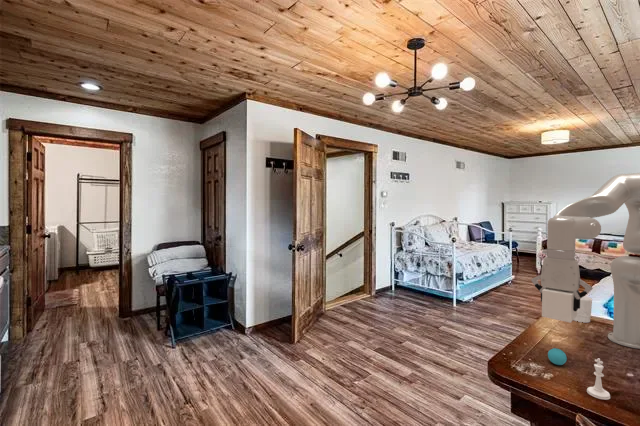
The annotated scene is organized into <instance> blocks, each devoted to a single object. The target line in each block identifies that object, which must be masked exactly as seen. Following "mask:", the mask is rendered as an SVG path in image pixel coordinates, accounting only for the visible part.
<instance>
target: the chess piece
mask: <svg viewBox="0 0 640 426" xmlns="http://www.w3.org/2000/svg"><path fill="white" fill-rule="evenodd" d="M594 362H596V363H594V364H593V367H594V369H595V371H594V372H593V374H594V375H595V376H596V377H595V383H594V385H593V386H589V387H587V389H586V392H587V394H588V395H590V396H592V397H594V398H596V399H599V400H606V401H607V400H610V399H611V394H610V392H609V391H607V390H606V389H604V388H603V385H602V378H603V377H604V376H605V375H604V373H602V372H603V370H604V367H605V366H603V365H604V362H603V361H602V360H601V358H597V359H594Z"/></svg>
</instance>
